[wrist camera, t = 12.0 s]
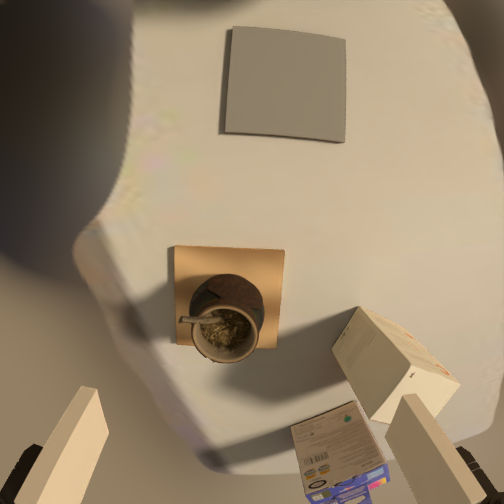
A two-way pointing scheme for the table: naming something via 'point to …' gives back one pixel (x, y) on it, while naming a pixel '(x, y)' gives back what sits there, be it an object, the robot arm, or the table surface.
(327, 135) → the felt pad
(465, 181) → the table surface
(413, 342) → the small box
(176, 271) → the square wooden coaster
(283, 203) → the table surface
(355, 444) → the ink cartridge box
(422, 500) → the robot arm
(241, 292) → the mate gourd
